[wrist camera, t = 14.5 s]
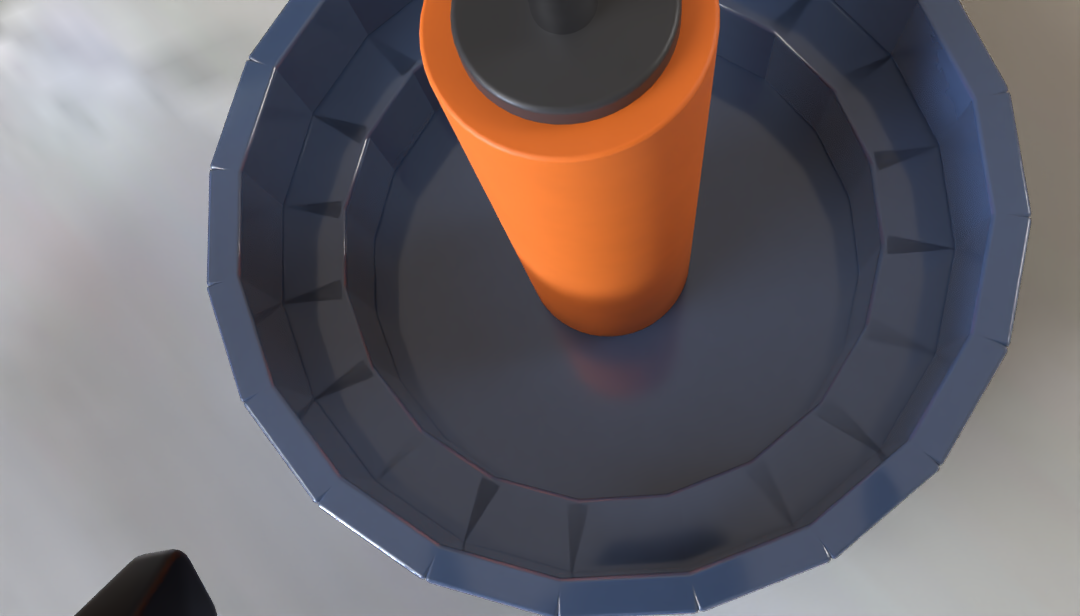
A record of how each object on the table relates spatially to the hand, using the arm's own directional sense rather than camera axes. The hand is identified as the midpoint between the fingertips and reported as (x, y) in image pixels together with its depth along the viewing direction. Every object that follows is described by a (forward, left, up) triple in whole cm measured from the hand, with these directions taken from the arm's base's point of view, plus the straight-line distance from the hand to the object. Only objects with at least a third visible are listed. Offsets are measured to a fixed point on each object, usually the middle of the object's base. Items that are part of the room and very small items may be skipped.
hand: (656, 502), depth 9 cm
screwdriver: (+2, +4, -10) cm, 11 cm away
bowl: (+3, +4, -10) cm, 11 cm away
